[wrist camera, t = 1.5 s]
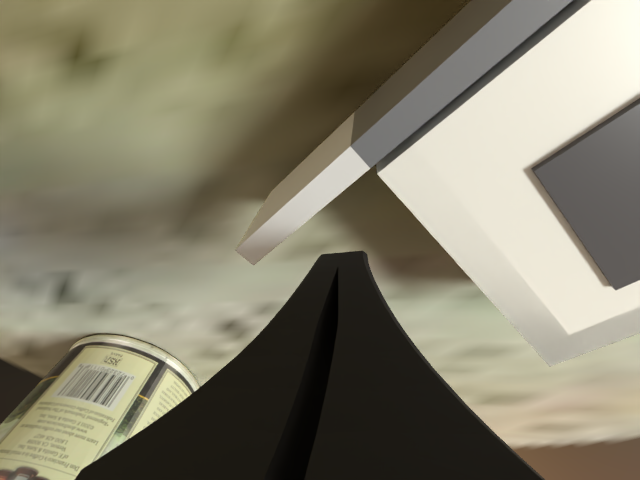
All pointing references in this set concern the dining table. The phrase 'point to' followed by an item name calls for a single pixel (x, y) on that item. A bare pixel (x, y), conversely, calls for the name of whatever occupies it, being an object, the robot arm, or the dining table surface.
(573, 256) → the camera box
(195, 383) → the coffee can
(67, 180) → the dining table surface
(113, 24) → the dining table surface
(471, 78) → the side door
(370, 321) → the robot arm
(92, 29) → the dining table surface
